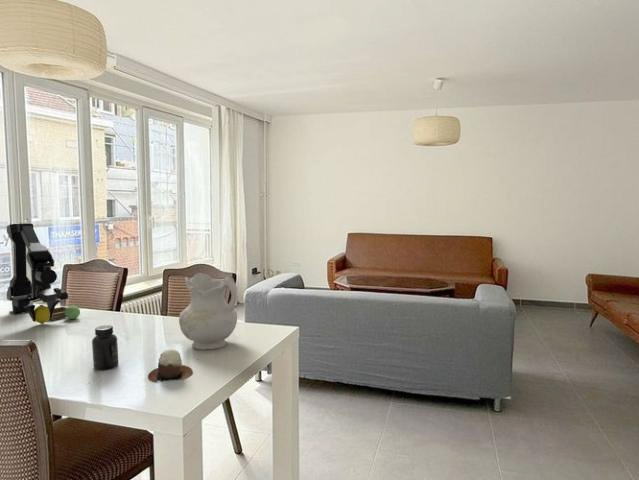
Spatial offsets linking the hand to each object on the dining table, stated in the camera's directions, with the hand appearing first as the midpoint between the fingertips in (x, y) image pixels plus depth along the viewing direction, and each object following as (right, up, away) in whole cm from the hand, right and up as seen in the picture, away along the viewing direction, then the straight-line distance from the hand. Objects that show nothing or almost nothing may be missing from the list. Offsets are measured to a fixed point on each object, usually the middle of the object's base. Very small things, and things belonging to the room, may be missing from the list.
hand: (42, 319), depth 181 cm
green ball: (+8, -1, +8) cm, 11 cm away
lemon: (0, -2, 0) cm, 2 cm away
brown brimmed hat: (+68, -7, -51) cm, 85 cm away
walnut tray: (-1, -1, +13) cm, 13 cm away
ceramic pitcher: (+74, -5, -25) cm, 78 cm away
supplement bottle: (+47, -6, -45) cm, 65 cm away
